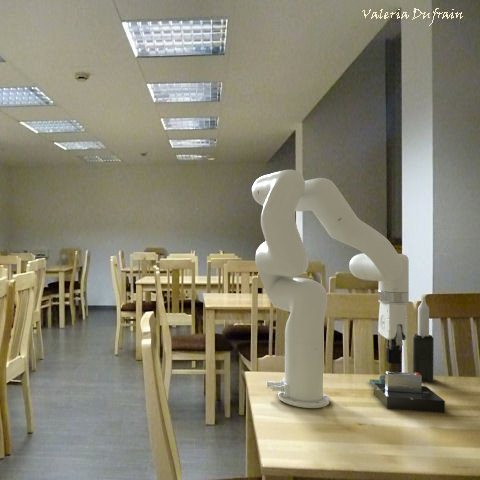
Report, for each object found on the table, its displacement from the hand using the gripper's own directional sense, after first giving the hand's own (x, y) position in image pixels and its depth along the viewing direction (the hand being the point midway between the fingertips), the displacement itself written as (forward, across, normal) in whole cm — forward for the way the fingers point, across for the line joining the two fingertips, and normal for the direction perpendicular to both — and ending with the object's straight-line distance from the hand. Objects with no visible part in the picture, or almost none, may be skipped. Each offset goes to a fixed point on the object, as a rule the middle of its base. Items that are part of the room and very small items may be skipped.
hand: (393, 362), depth 124 cm
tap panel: (+7, +11, 0) cm, 13 cm away
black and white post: (+8, -11, +12) cm, 18 cm away
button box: (+7, 0, 0) cm, 7 cm away
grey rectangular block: (+4, +11, -1) cm, 12 cm away
